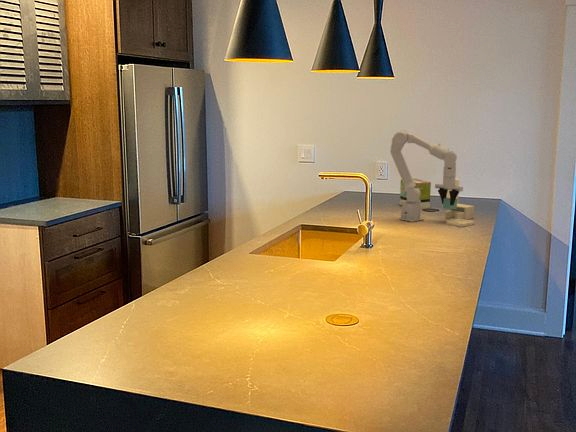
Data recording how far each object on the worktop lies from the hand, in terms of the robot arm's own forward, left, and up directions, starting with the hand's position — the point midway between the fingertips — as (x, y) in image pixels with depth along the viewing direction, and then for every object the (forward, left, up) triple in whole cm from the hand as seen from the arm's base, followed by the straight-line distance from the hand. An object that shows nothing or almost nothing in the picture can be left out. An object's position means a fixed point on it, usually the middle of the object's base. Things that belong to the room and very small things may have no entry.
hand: (447, 204), depth 316 cm
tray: (-1, -8, -9) cm, 11 cm away
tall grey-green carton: (+2, 0, -2) cm, 3 cm away
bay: (+13, +2, -8) cm, 15 cm away
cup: (+35, +22, -9) cm, 43 cm away
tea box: (+22, +36, -9) cm, 43 cm away
